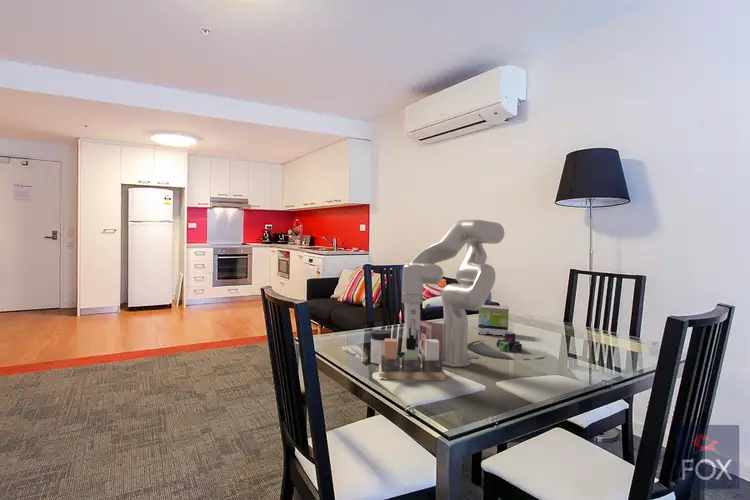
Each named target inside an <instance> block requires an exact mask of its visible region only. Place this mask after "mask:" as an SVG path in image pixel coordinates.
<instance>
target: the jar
mask: <svg viewBox="0 0 750 500" xmlns="http://www.w3.org/2000/svg"><path fill="white" fill-rule="evenodd" d="M385 338H387V339H392V331H390V330H387V329H373V330H371V331H370V364H374V363H375V365H379V364H381V355H384V342H385Z"/></svg>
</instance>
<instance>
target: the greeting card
mask: <svg viewBox="0 0 750 500" xmlns="http://www.w3.org/2000/svg"><path fill="white" fill-rule="evenodd" d="M443 325H444V323H439V322H433V321H426V320H420V331H419V332H418V331H417V333H418V334H417V335H418V337H417V338H418V341H417V349H418V356H419V357H420V358H422V356H425V339H437V340H438V341H439V357H443Z"/></svg>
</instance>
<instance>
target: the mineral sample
mask: <svg viewBox="0 0 750 500" xmlns="http://www.w3.org/2000/svg"><path fill="white" fill-rule="evenodd" d="M496 347H497V348H498V349H499V350H497V349H495V348H494V347H492V346H490V345H489V344H486V343H485V342H484V341H481V340H475V341H472V342H469V343H467V349H469V350H471V352H472V351H473V352H474V353H476V354H479V355H483V356H486V357H489V358H497V359H503V360H511V361H513V360H514V361H515V358H514V357H512V356H510V355H508V354H506V353H505V352H514V353H518V354H519V353H520V354H521V353H522V351H523V350H522V347H523V344H522V343H520V341H519V340H518V339H516V333H514V332H512V331H508V332H507V333H505V336H503V337H500V338H498V339H497V342H496ZM543 358H546V356H544V357H536V360H540V359H543ZM522 361H531V358H528V357H526V358H523V359H522Z"/></svg>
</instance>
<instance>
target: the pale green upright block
mask: <svg viewBox="0 0 750 500" xmlns="http://www.w3.org/2000/svg"><path fill="white" fill-rule="evenodd" d="M404 356H405V360H418V346H417V347H416V346H415V350H407V349H406V346H405V347H404Z"/></svg>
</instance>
